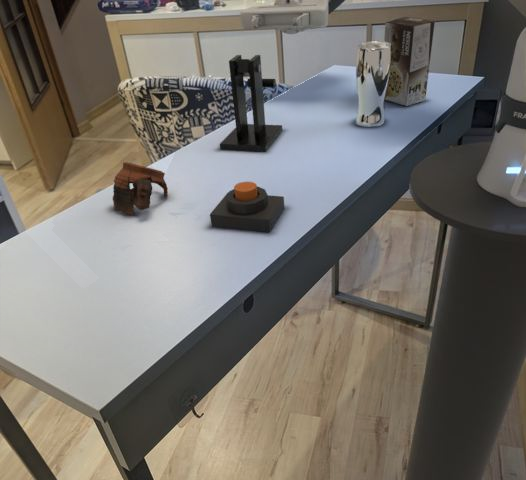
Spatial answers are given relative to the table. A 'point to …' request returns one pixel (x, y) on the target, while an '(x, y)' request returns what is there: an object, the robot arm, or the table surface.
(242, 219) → the control block
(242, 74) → the lever handle
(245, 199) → the button
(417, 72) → the coffee box
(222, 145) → the black headphone stand
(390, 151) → the table surface
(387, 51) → the beer glass
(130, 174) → the brown arched piece
